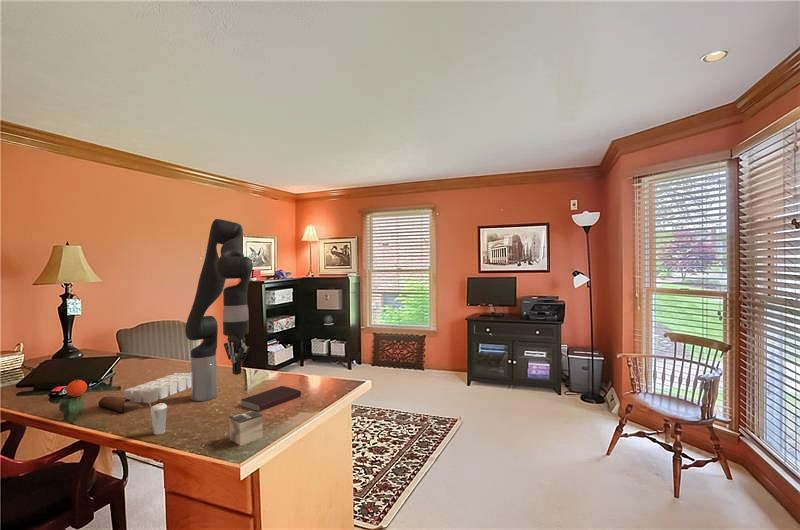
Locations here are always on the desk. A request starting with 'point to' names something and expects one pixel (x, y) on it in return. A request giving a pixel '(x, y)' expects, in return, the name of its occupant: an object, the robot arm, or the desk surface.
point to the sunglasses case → (119, 404)
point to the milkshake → (158, 418)
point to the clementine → (76, 388)
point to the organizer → (159, 388)
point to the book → (270, 398)
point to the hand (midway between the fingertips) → (236, 374)
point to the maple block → (245, 427)
